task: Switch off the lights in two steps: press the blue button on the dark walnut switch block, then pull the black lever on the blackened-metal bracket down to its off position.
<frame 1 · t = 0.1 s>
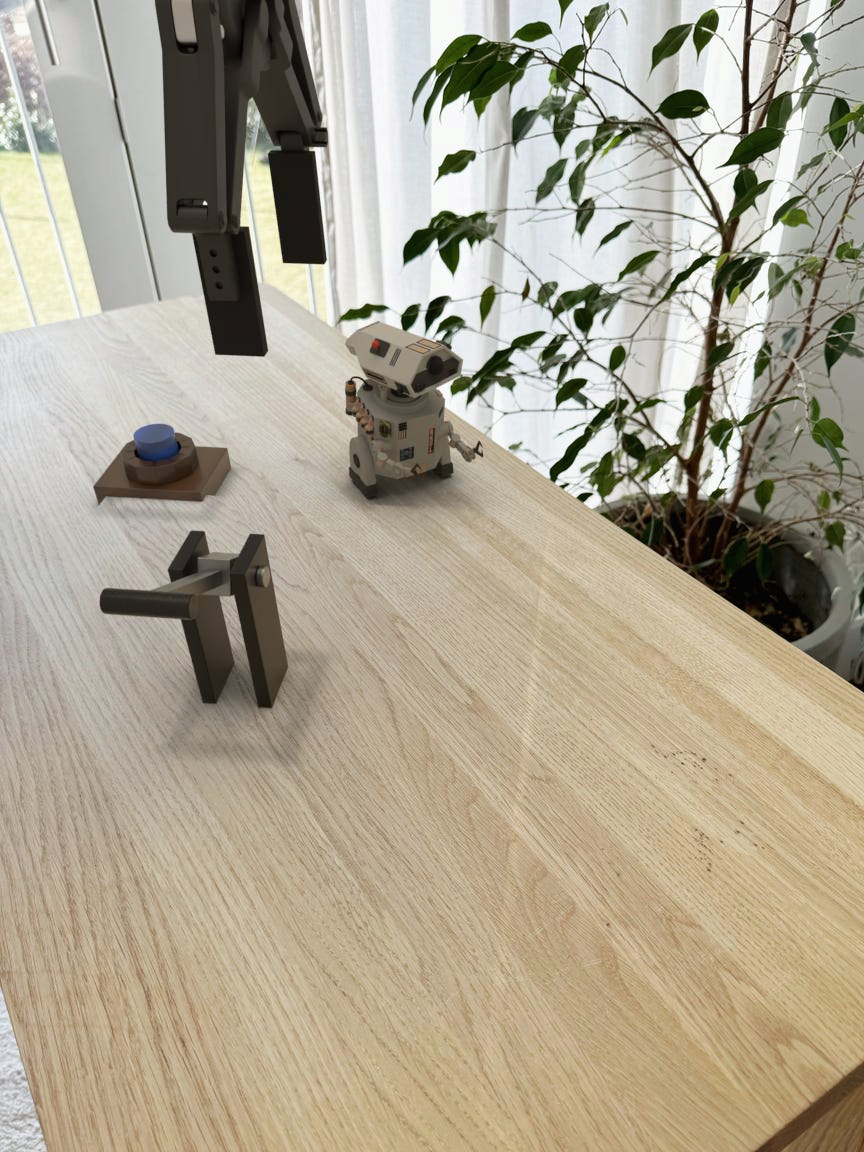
hand: (276, 304, 59), 27 cm above the table, tool pointing down, fingers open, 13 cm apart
lever: (190, 586, 60), point 13 cm above the table, hinge at 28.0°
button: (156, 443, 91), point 5 cm above the table, slide at 0.1 cm
lever bracket: (248, 696, 72), on the table
switch block: (167, 486, 94), on the table
figurine: (412, 490, 94), on the table
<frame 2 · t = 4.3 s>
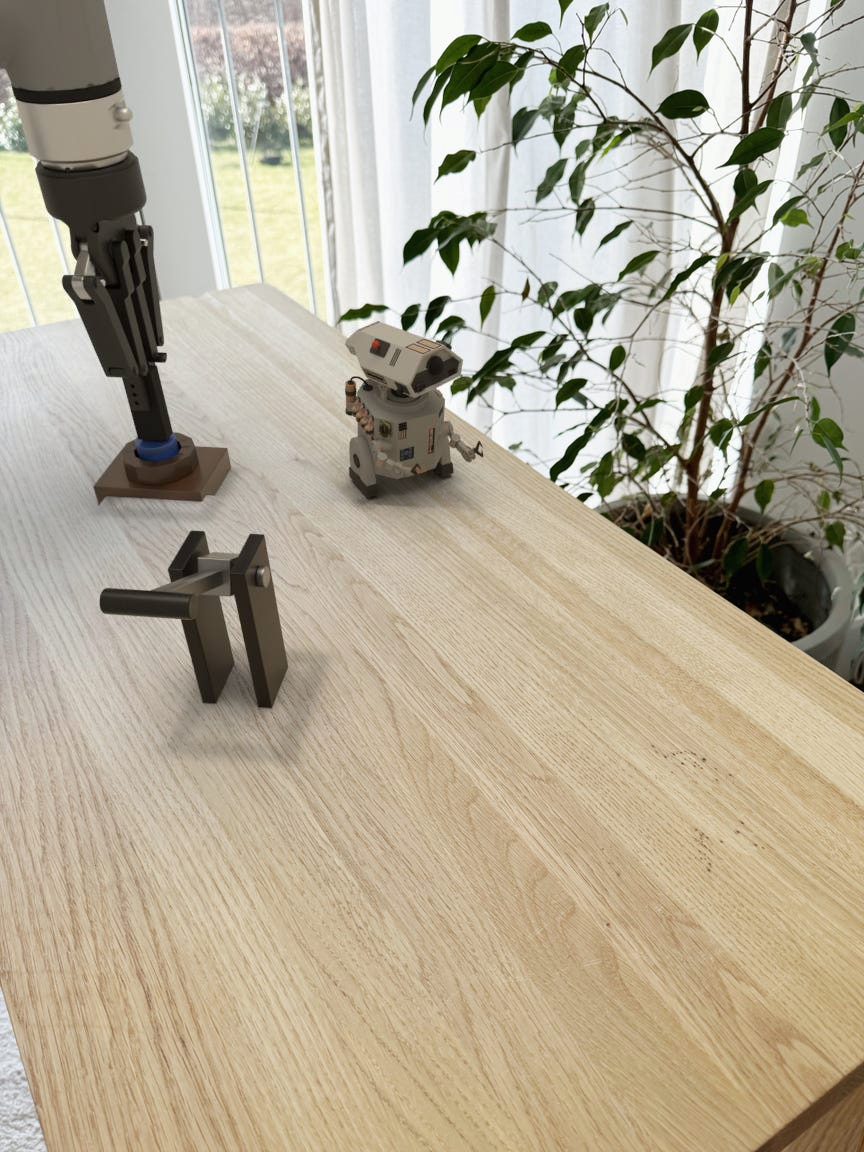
hand: (155, 435, 91), 5 cm above the table, tool pointing down, fingers closed
button: (157, 448, 92), point 4 cm above the table, slide at -0.5 cm, touching gripper
everything else where it was.
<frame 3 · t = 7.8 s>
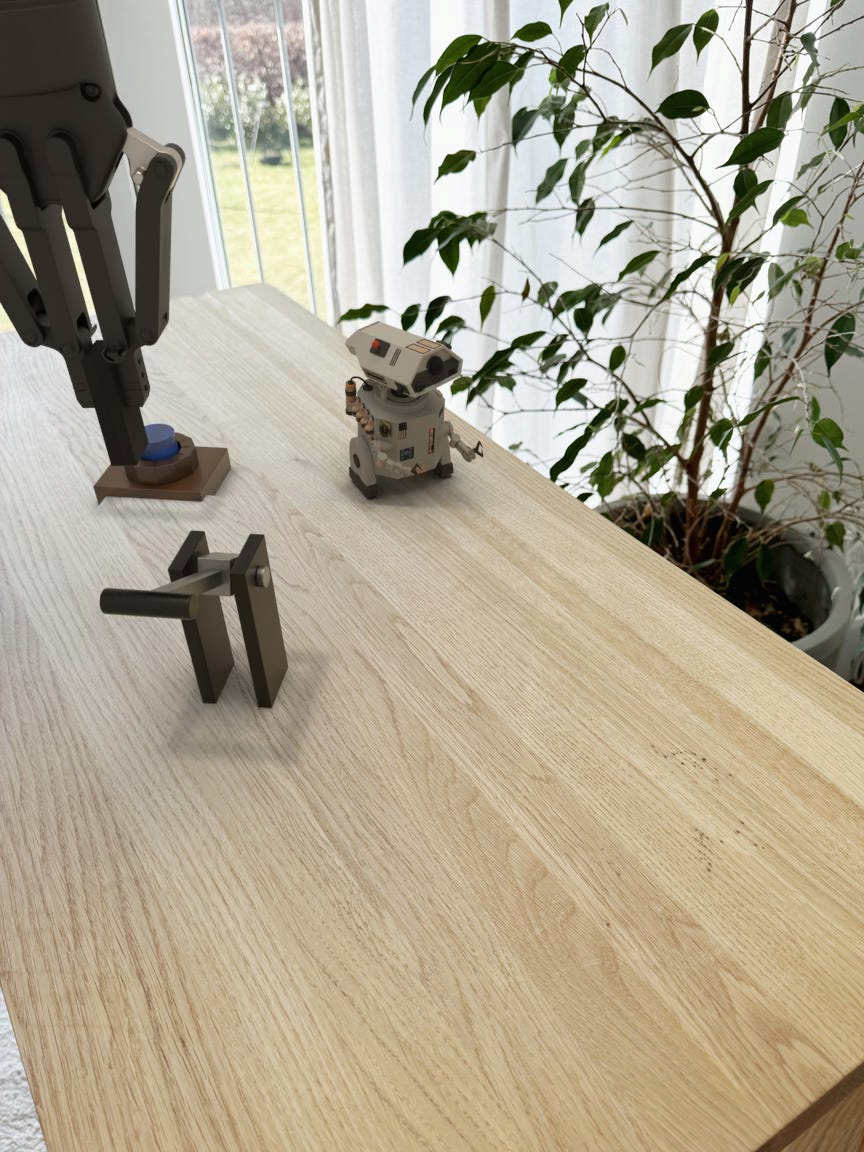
hand: (130, 453, 60), 20 cm above the table, tool pointing down, fingers closed
button: (156, 443, 91), point 5 cm above the table, slide at 0.1 cm
everything else where it was.
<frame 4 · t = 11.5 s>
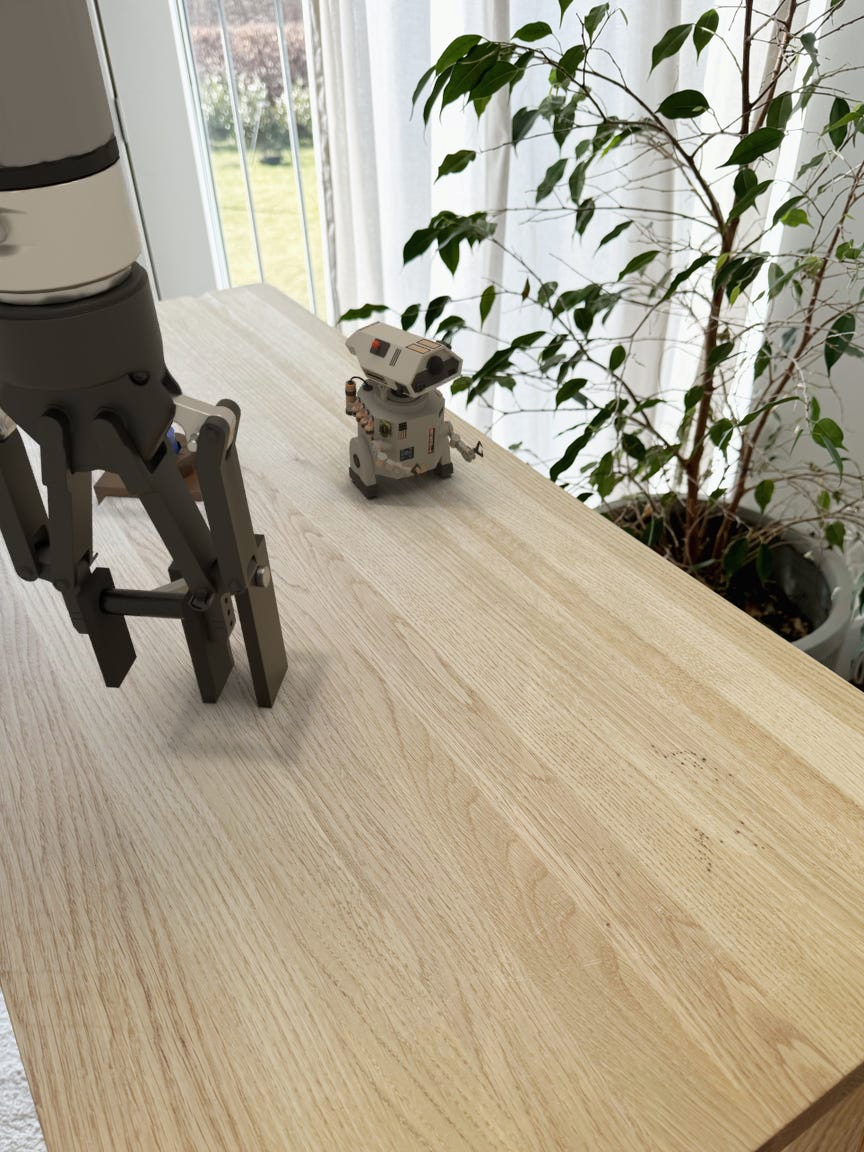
hand: (169, 674, 58), 11 cm above the table, tool pointing down, fingers closed on lever, 5 cm apart
lever: (190, 586, 60), point 13 cm above the table, hinge at 28.0°, touching gripper
everything else where it was.
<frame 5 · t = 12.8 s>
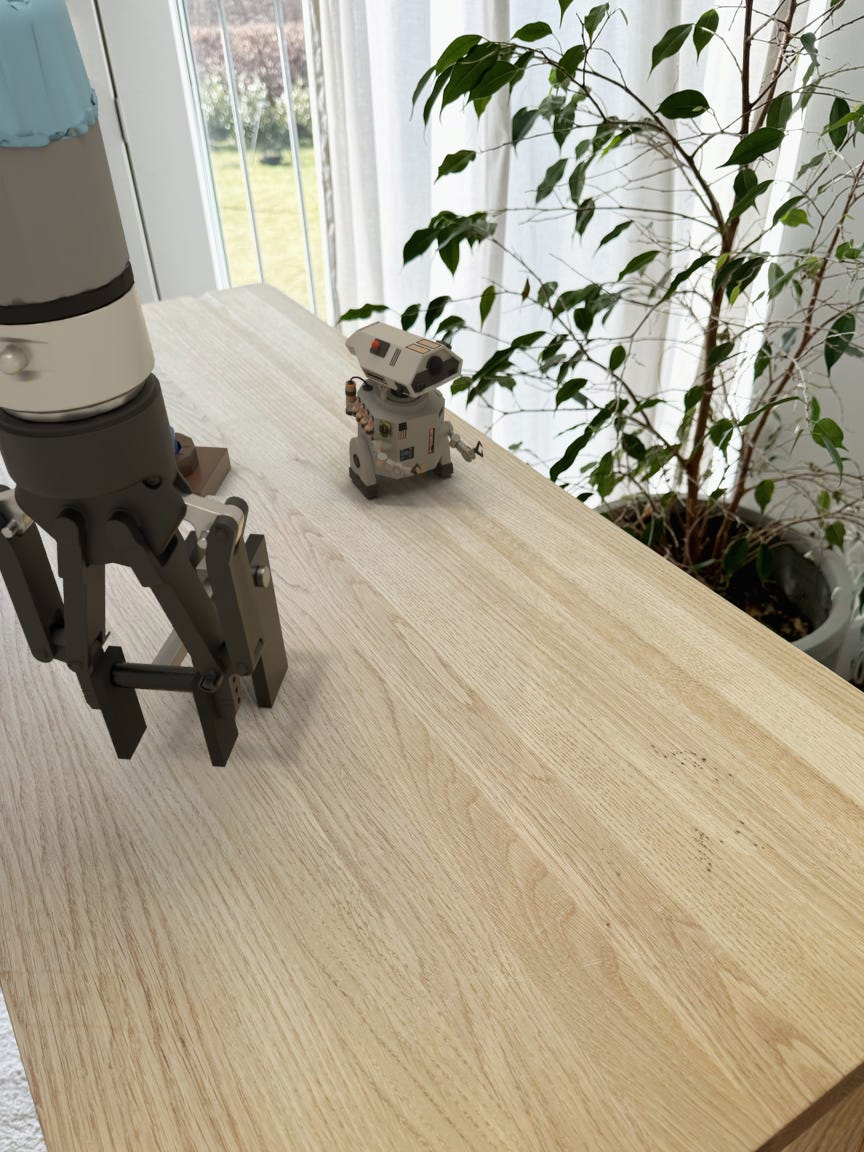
hand: (178, 745, 60), 6 cm above the table, tool pointing down, fingers closed on lever, 5 cm apart
lever: (194, 618, 61), point 11 cm above the table, hinge at 4.6°, touching gripper
everything else where it was.
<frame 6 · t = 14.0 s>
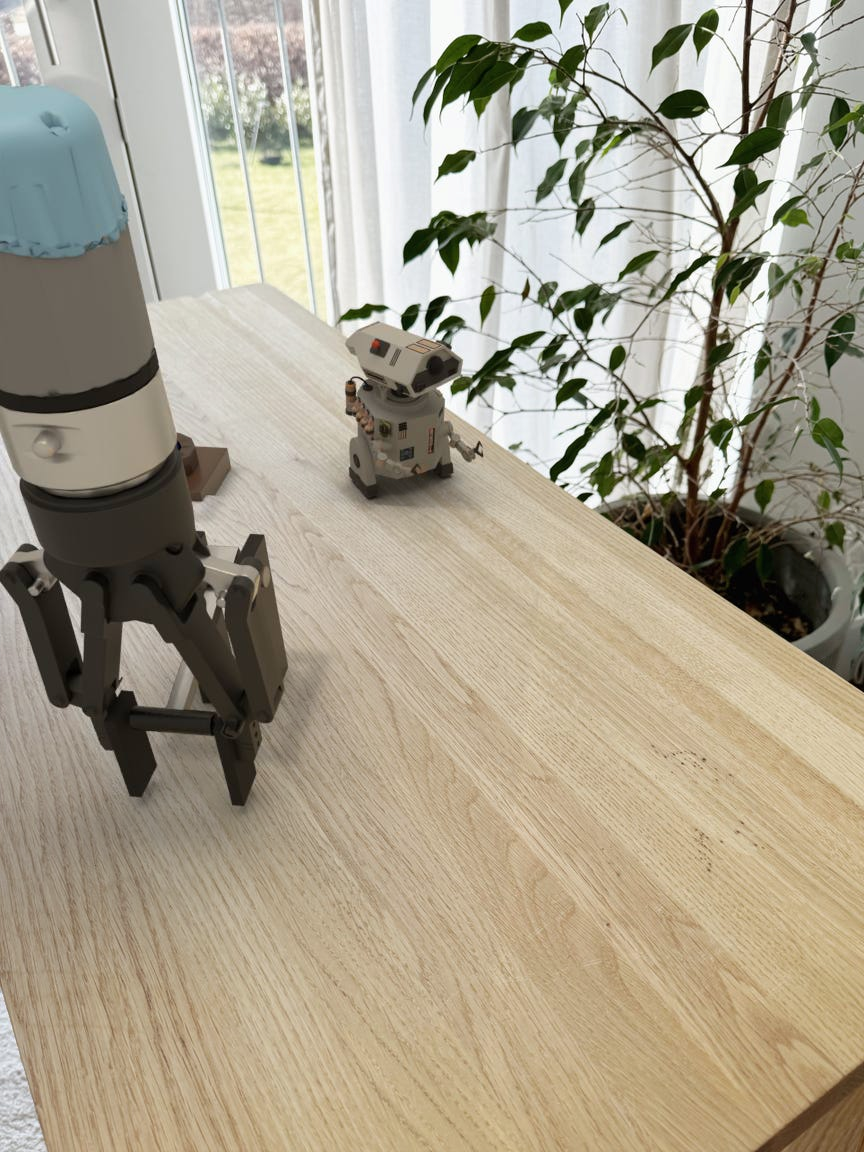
hand: (193, 784, 63), 2 cm above the table, tool pointing down, fingers open, 6 cm apart
lever: (200, 639, 62), point 10 cm above the table, hinge at -15.2°
everything else where it was.
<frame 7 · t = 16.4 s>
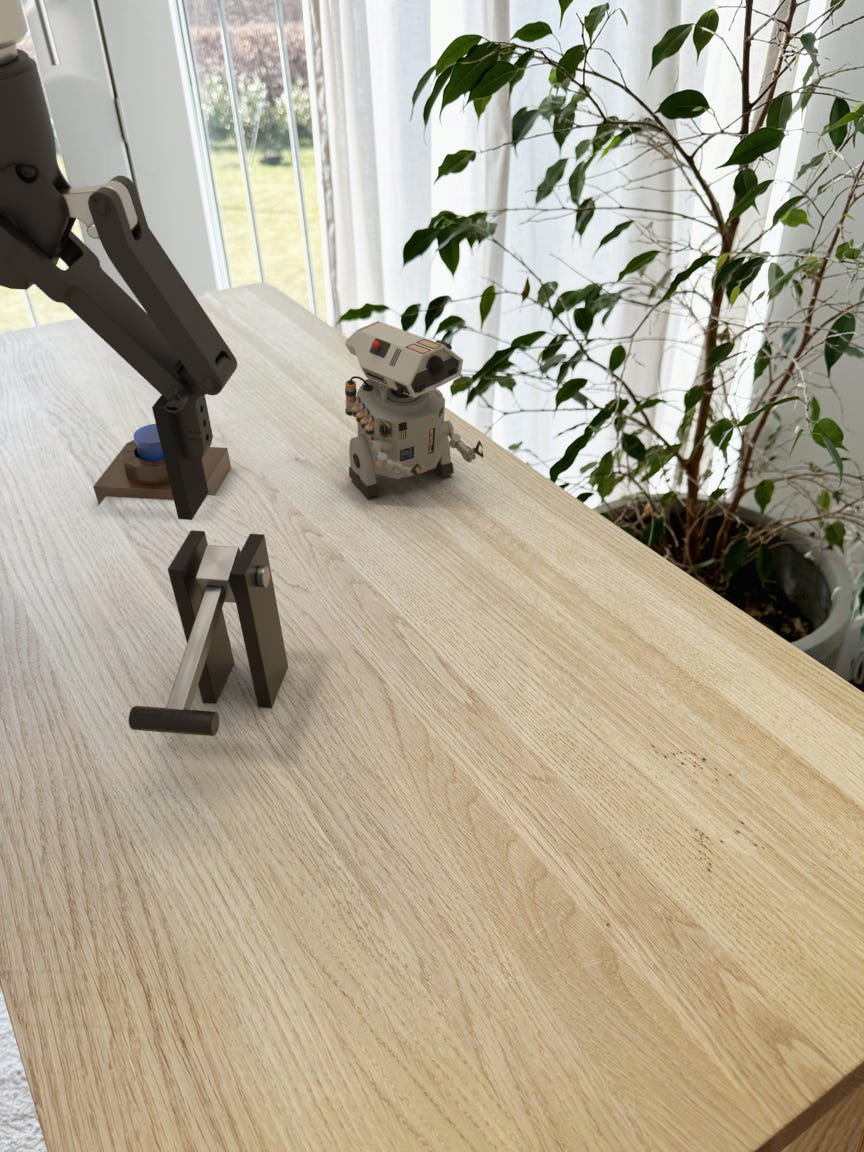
hand: (73, 498, 55), 20 cm above the table, tool pointing down, fingers open, 13 cm apart
nothing on the table moved.
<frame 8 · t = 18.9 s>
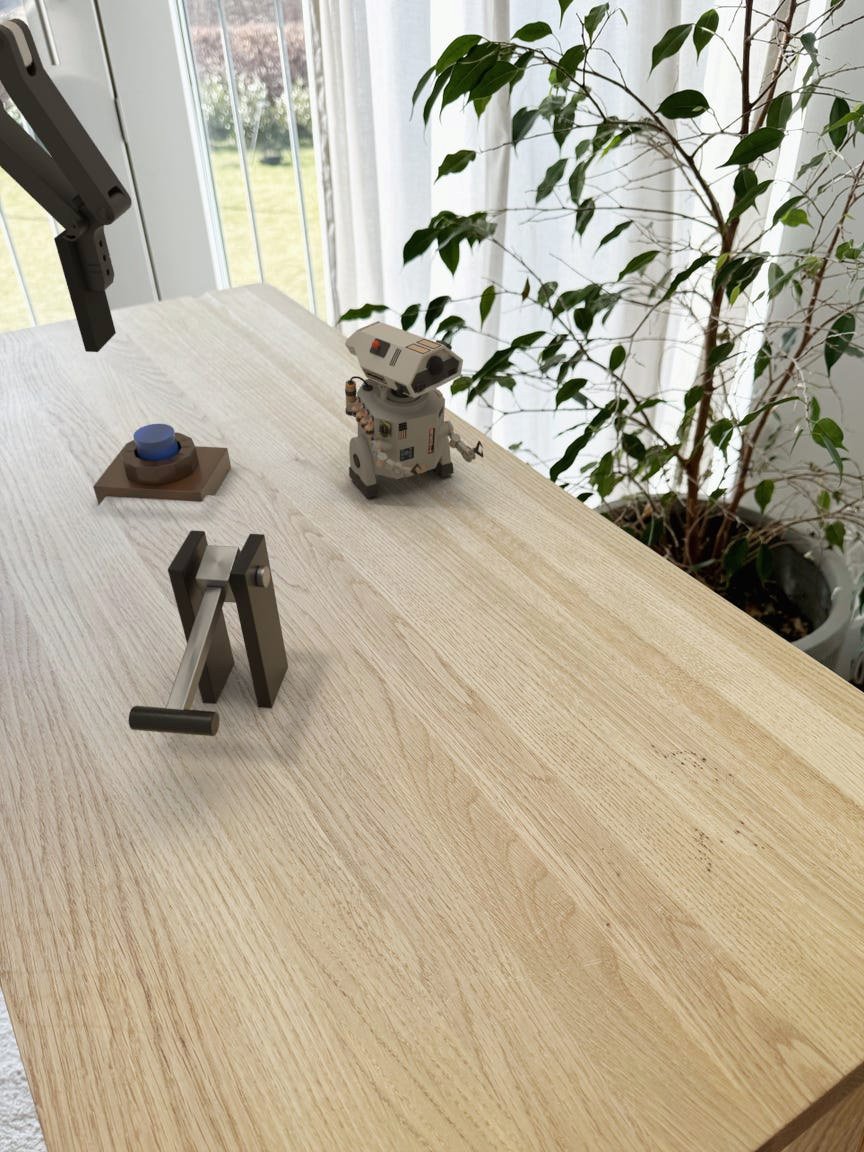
nothing on the table moved.
at the end: button pushed in 0.9 cm at the most during the clip, back to where it started at the end; button slide at 0.1 cm; lever at -15° (first picture: +28°) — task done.
